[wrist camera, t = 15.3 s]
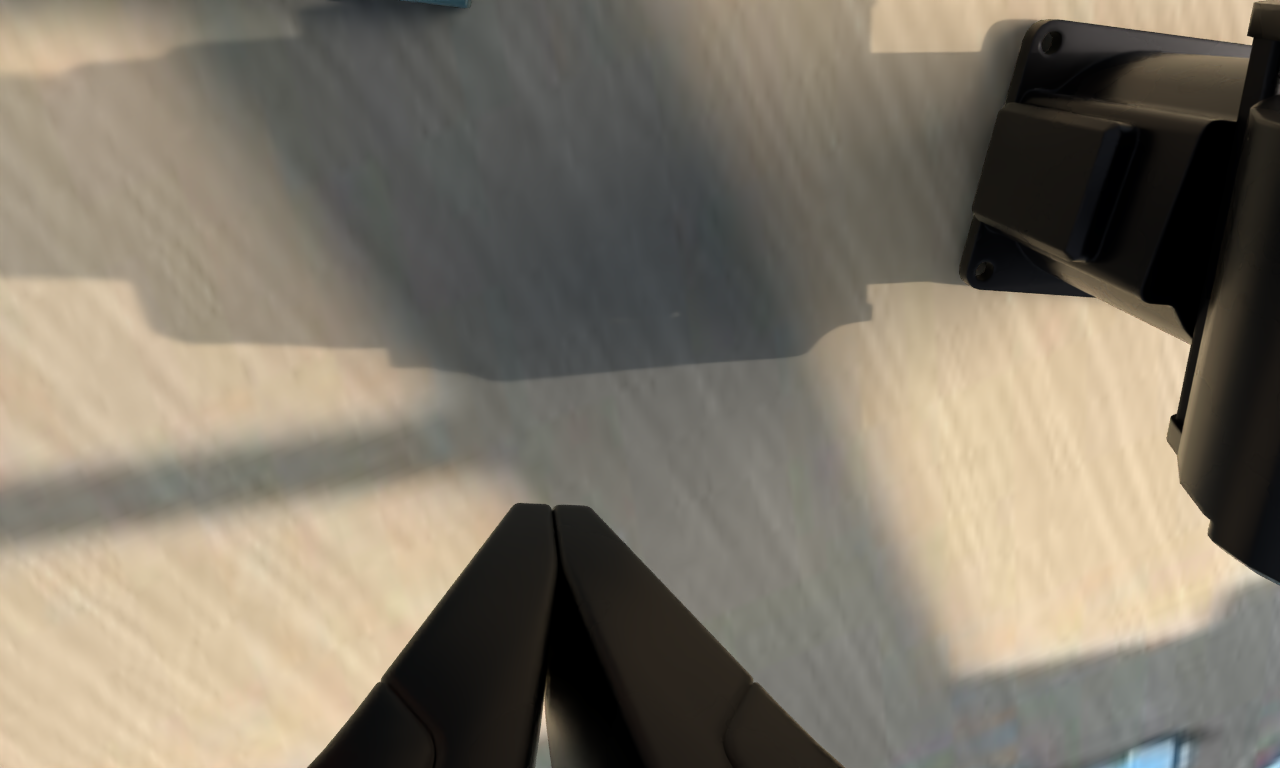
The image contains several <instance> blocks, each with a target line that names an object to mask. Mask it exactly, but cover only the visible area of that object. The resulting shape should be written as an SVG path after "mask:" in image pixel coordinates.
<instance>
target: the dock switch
mask: <svg viewBox="0 0 1280 768" xmlns="http://www.w3.org/2000/svg"><path fill="white" fill-rule="evenodd" d="M400 1H409V2H417V3H425V4H434V5H442V6H450V7H459V8H470V6H471V0H400Z"/></svg>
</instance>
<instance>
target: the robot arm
mask: <svg viewBox="0 0 1280 768" xmlns="http://www.w3.org/2000/svg"><path fill="white" fill-rule="evenodd" d="M1048 33H1050V34H1051V36H1052V44H1051V46H1050V48H1049V50H1047V51H1046V52H1045V53H1044V52H1043V50H1042V41H1043V39H1044V37H1045V36H1046V35H1047V34H1048ZM1247 36H1250V37H1254V39H1253V43H1252V45H1244V44H1237V43H1229V42H1222V41H1214V40H1207V39H1199V38H1192V37H1185V36H1177V35H1170V34H1162V33H1155V32H1147V31H1140V30H1132V29H1125V28H1118V27H1110V26H1103V25H1095V24H1088V23H1080V22H1073V21H1065V20H1053V19H1048V20H1040V21H1038V22H1037V23H1035V24H1033V25H1032V26H1031V27H1030V28H1029V30H1028V31H1027V32H1026V34H1025V36H1024V39H1023V41H1022V45H1021V49H1020V52H1019V56H1018V59H1017V63H1016V66H1015V70H1014V74H1013V77H1012V81H1011V84H1010V88H1009V91H1008V95H1007V99H1006V102H1005V106H1004V107H1003V108H1002V109H1001V110H1000V111H999V113H998V116H997V120H996V123H995V127H994V130H993V134H992V138H991V141H990V145H989V148H988V152H987V156H986V159H985V163H984V166H983V170H982V174H981V177H980V181H979V184H978V188H977V192H976V195H975V199H974V202H973V206H972V211H973V213H974V216H973V220H972V224H971V227H970V231H969V234H968V238H967V242H966V245H965V249H964V252H963V256H962V259H961V263H960V269H959V274H960V277H961V279H962V280H963V281H964V282H965V283H966V284H968V285H970V286H971V287H973V288H976V289H979V290H993V291H1007V292H1022V293H1036V294H1051V295H1065V296H1080V297H1094V298H1098V299H1100V300H1102V301H1104V302H1106V303H1108V304H1110V305H1112V306H1114V307H1116V308H1118V309H1120V310H1122V311H1124V312H1126V313H1128V314H1130V315H1132V316H1134V317H1136V318H1138V319H1140V320H1142V321H1144V322H1146V323H1148V324H1150V325H1152V326H1154V327H1156V328H1158V329H1160V330H1162V331H1164V332H1166V333H1168V334H1170V335H1172V336H1174V337H1176V338H1178V339H1180V340H1182V341H1184V342H1186V343H1188V344H1190V345H1191V348H1190V352H1189V357H1188V362H1187V367H1186V372H1185V377H1184V382H1183V387H1182V392H1181V397H1180V402H1179V406H1178V411H1177V414H1175V415H1172V416H1171V418H1170V423H1169V428H1168V433H1167V438H1166V439H1167V442H1168V443H1169V444H1170V446H1171V447H1172V449H1173V450H1174V452H1175V453H1176V454H1177V460H1178V469H1179V479H1180V484H1181V485H1182V486H1183V488H1184V489H1185V490H1186V492H1187V493H1188V494H1189V496H1190V497H1191V498H1192V500H1193V501H1194V502H1195V503H1196V505H1197V506H1198V507H1199V509H1200V510H1201V511H1202V513H1203V514H1204V515H1205V516H1206V517H1207V518H1209V519H1210V524H1209V528H1208V536H1209V537H1210V539H1211V540H1212V541H1213V542H1214V543H1215V544H1216V545H1218V546H1219V547H1220V548H1221V549H1222V550H1224V551H1225V552H1226V553H1228V554H1229V555H1231V556H1232V557H1234V558H1235V559H1237V560H1238V561H1239V562H1241V563H1242V564H1244V565H1245V566H1247V567H1248V568H1249V569H1251V570H1252V571H1254V572H1255V573H1257V574H1258V575H1260V576H1262V577H1264V578H1266V579H1268V580H1270V581H1272V582H1274V583H1276V584H1278V585H1280V0H1266V1H1259V2H1254V4H1253V9H1252V14H1251V19H1250V24H1249V29H1248V34H1247ZM983 262H986V268H985V270H984V272H983V273H982V274H980V275H978V276H976V269H977V268H978V266H979V265H980V264H982V263H983ZM543 702H545V715H546V726H547V734H548V742H549V750H550V758H551V766H552V768H845V767H844V766H843V765H842V764H840V763H839V762H838V761H837V760H836V759H835V758H834V757H833V756H832V755H830V754H829V753H828V752H827V751H826V750H825V749H824V748H823V747H822V746H820V745H819V744H818V743H817V742H816V741H815V740H814V739H813V738H812V737H811V736H810V735H809V734H808V733H807V732H806V731H805V730H804V729H803V728H802V727H801V726H800V725H799V724H798V723H797V722H796V721H795V720H794V719H793V718H792V717H791V716H790V715H789V714H788V713H787V712H786V711H785V710H784V709H783V708H782V707H781V706H780V705H779V704H778V703H777V702H776V701H775V700H774V699H773V698H772V697H771V696H770V695H769V694H768V693H767V692H766V691H765V689H764V688H763V687H762V686H761V685H760V684H759V683H757V682H754V683H753V678H752V676H751V675H750V674H749V673H748V672H747V671H746V670H745V669H744V668H743V667H742V666H741V665H740V664H739V663H738V662H737V661H736V659H735V658H734V657H733V656H732V655H731V654H730V653H729V652H728V651H727V650H726V649H725V648H724V647H723V646H722V645H721V644H720V643H719V642H718V641H717V640H716V639H715V637H714V636H713V635H712V634H711V633H710V632H709V631H708V630H707V629H706V628H705V627H704V626H703V625H702V624H701V623H700V622H699V621H698V620H697V619H696V618H695V616H694V615H693V614H692V613H691V612H690V611H689V610H688V609H687V608H686V607H685V606H684V605H683V604H682V603H681V602H680V601H679V600H678V599H677V598H676V597H675V596H674V594H673V593H672V592H671V591H670V590H669V589H668V588H667V587H666V586H665V585H664V584H663V583H662V582H661V581H660V580H659V579H658V578H657V577H656V576H655V575H654V573H653V572H652V571H651V570H650V569H649V568H648V567H647V566H646V565H645V564H644V563H643V562H642V561H641V560H640V559H639V558H638V557H637V556H636V555H635V554H634V553H633V551H632V550H631V549H630V548H629V547H628V546H627V545H626V544H625V543H624V542H623V541H622V540H621V539H620V538H619V537H618V536H617V535H616V534H615V533H614V532H613V530H612V529H611V528H610V527H609V526H608V525H607V524H606V523H605V522H604V521H603V520H602V519H601V518H600V517H599V516H598V515H597V514H596V513H595V512H594V511H593V510H592V509H591V508H590V507H588V506H580V505H556V506H555V507H554V508H553V509H551V507H550V506H549V505H546V504H529V503H517V504H515V505H513V507H512V508H511V509H510V510H509V512H508V513H507V514H506V515H505V517H504V518H503V519H502V521H501V522H500V523H499V525H498V526H497V527H496V529H495V530H494V531H493V532H492V534H491V535H490V536H489V538H488V539H487V540H486V542H485V543H484V544H483V546H482V547H481V548H480V549H479V551H478V552H477V553H476V555H475V556H474V557H473V559H472V560H471V561H470V563H469V564H468V565H467V567H466V568H465V569H464V570H463V572H462V573H461V574H460V576H459V577H458V578H457V580H456V581H455V582H454V584H453V585H452V586H451V587H450V589H449V590H448V591H447V593H446V594H445V595H444V597H443V598H442V599H441V601H440V602H439V603H438V604H437V606H436V607H435V608H434V610H433V611H432V612H431V614H430V615H429V616H428V618H427V619H426V620H425V622H424V623H423V624H422V625H421V627H420V628H419V629H418V631H417V632H416V633H415V635H414V636H413V637H412V639H411V640H410V641H409V642H408V644H407V645H406V646H405V648H404V649H403V650H402V652H401V653H400V654H399V656H398V657H397V658H396V659H395V661H394V662H393V663H392V665H391V666H390V667H389V669H388V670H387V671H386V673H385V674H384V675H383V677H382V678H381V682H378V683H377V684H376V685H375V686H374V688H373V689H372V690H371V692H370V693H369V694H368V696H367V697H366V698H365V700H364V701H363V702H362V703H361V705H360V706H359V707H358V709H357V710H356V711H355V713H354V714H353V715H352V716H351V717H350V719H349V720H348V721H347V722H346V723H345V725H344V726H343V727H342V728H341V730H340V731H339V732H338V733H337V734H336V736H335V737H334V738H333V739H332V740H331V742H330V743H329V744H328V745H327V747H326V748H325V749H324V750H323V751H322V752H321V753H320V754H319V756H318V757H317V758H316V759H315V760H314V761H313V762H312V763H311V764H310V765H309V766H308V767H307V768H535V764H536V757H537V750H538V742H539V735H540V728H541V719H542V710H543Z"/></svg>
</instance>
